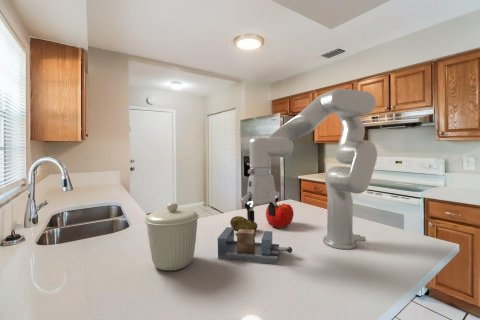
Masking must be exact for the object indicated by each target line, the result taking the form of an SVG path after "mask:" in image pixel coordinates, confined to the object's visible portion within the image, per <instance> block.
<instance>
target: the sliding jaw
mask: <svg viewBox="0 0 480 320" xmlns="http://www.w3.org/2000/svg"><path fill="white" fill-rule="evenodd" d="M261 243H262V255H265V256H271V251H279V252H284V253H285V252H287V253H289V254H291V253H293V248H292V247H290V246H287V247H285V246H283V247H282V246H279V247H273V246H272V244H273V231H270V230H264V232H263V235H262V238H261Z"/></svg>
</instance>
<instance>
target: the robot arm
mask: <svg viewBox="0 0 480 320" xmlns="http://www.w3.org/2000/svg"><path fill="white" fill-rule="evenodd" d="M376 106H377V100H376V98H375V96H374V95H373V94H372V93H371V92H368V91H364V90H358V89H357V90H356V89H349V88H334V89H332V90H329V91H326V92H324V93H322V94H319V95H318V96H317V97H316V98H315V99H313V100H312V101H311V102H310V103H309V104H308V105H307V106H306V107H304V109H302V110H301V111H300V112H299V113H297V115H295V116H294V117H292V118H290V119H289V120H288V121H287V122H286V123H284V124H283V125H281V126H280V127H279V128H277V129H276V130H275V131H274V132H273V133H272V134H270V135H269V136H268V137H254V138H253V137H252V138H250V140H249V143H248V145H249V146H248V147H249V169H248V170H247V174H249V176H248V181H247V189H246V191H247V193H246V194H245V195H243V196H242V197H241V198H240V202H241V204H242V207H244V208H245V210H246V211H247V213H246V214H247V215H246V216H247V218H246V219H248V220H249V221H251V222H255V211H254V208H255V206H260V205H265V204H268V206H267V207H268V214H269V215H270V216H273V217H275V206H276V205H278V203H277V202H279V198H280V196H281V194H280V192H279V191H277V190H276V186H275V185H276V184H275V179H274V175H273V174H272V168H271V167H272V161H271V158H272V157H273V158H274V157H276V158H286V157H289V156H290V155H291V154H292V153H293V151H294V147H295V146H294V142H293V141H294V140H295V139H298V138H300V137H304V136H306V135H308V134H310V133H311V132H314V130H315V129H317V128H318V127H319V126H320V125H321V124H322V123H323V122H325V120H327V118H329V117H330V116H331V115H333V114H336V116H337V118H338V120H339V122H340V123H341V134H340V136H339V141H338V144H337V148H336V152H335V159H336V160H337V161H338V162H339V163H341V164H344V165H350V166H342V165H341V166H339V165H337V166H332V167H331V168H329V169H328V170H327V171H326V173H325V177H324V182H325V188H326V194H327V195H326V198H327V203H326V204H327V205H326V206H327V207H326V208H327V209H326V210H327V219H326V220H327V224H326V225H327V228H326V235H325V236H324V237H323V239H322V241H323V243H324V244H326V246H329V247H331V248H336V249H339V250H341V249H342V250H351V249H355V248H356V247H357V245H358V243H357V242H366V241H367V240H366V239H367V238H366V236H361V234H355V233H354V232H353V227H354V226H353V223H354V222H353V219H354V218H353V217H354V216H353V215H354V214H353V207H354V202H353V201H354V200H353V196H352V194H355V195H356V194H363V193H364V192H366V190H367V189H368V188H369V186H370V183H371V180H372V177H373V173H374V169H375V166H376V163H377V159H378V151H377V150H378V149H377V147H376V145H375V144H374V143H373V142H372V141H370V140H366V139H365V140H364V138H365V133H366V131H365V126H364V125H365V124H364V123H363V122H362V120H361V118H360V117H362V116H367V115H369V114H371V113H372V112H373V111H374V110H375V109H376Z"/></svg>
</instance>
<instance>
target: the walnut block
mask: <svg viewBox="0 0 480 320" xmlns="http://www.w3.org/2000/svg"><path fill="white" fill-rule="evenodd" d="M255 236H256V231H255V230H248V229H239V230H238V232H237V231H236V241H237V251H239V252H251V253H253V252H254V249H255V242H256V237H255Z"/></svg>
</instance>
